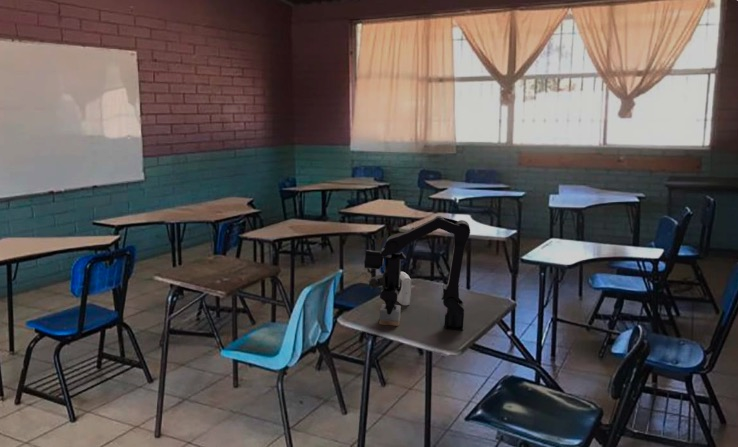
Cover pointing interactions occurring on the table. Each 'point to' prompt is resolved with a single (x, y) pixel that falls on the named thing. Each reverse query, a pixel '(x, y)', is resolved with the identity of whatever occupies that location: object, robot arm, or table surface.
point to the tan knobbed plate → (389, 322)
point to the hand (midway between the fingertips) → (390, 310)
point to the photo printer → (405, 289)
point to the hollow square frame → (393, 316)
